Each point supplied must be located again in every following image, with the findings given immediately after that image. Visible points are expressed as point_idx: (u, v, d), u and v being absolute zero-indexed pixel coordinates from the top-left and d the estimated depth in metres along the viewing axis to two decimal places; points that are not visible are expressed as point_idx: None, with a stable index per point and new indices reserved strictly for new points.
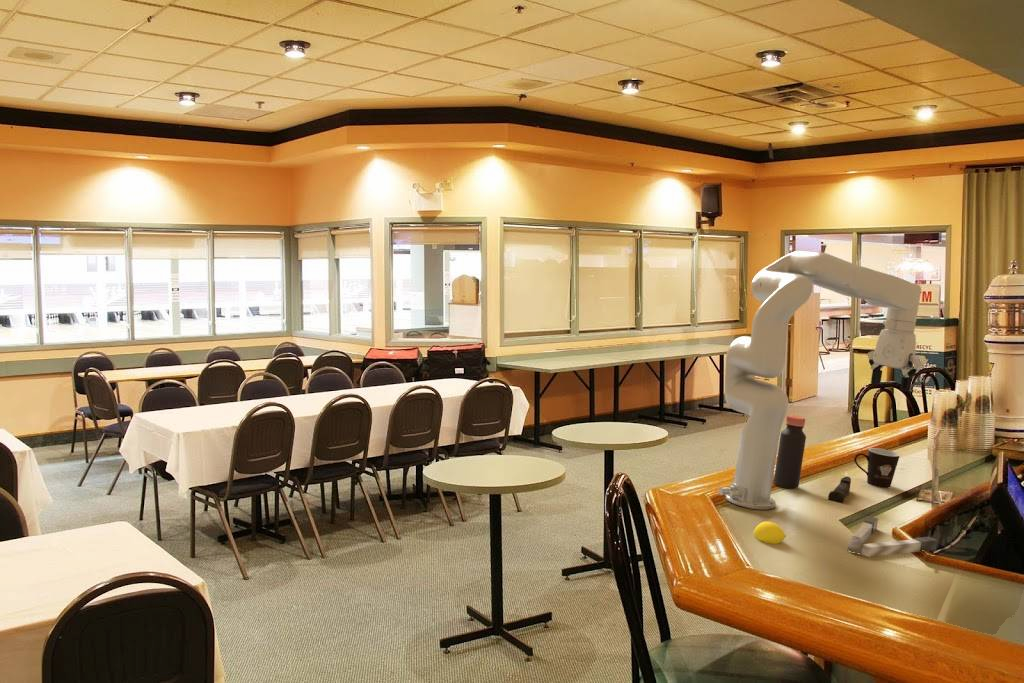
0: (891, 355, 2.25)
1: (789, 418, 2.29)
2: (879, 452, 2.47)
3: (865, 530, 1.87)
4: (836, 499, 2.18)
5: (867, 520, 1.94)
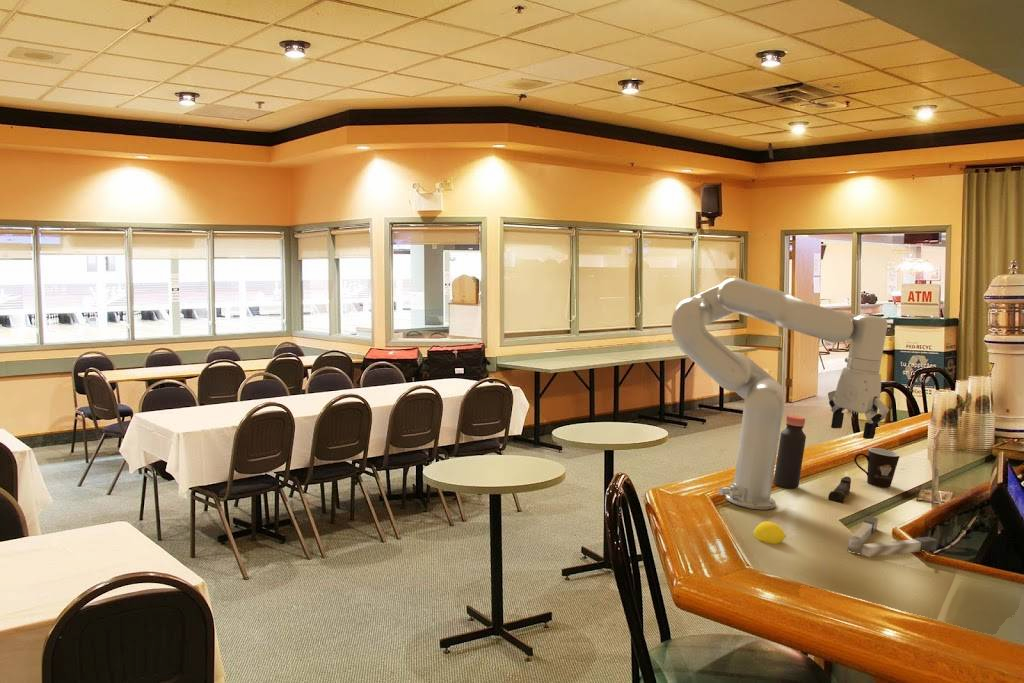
0: (853, 398, 1.99)
1: (789, 418, 2.29)
2: (879, 452, 2.47)
3: (865, 530, 1.87)
4: (836, 499, 2.18)
5: (867, 520, 1.94)
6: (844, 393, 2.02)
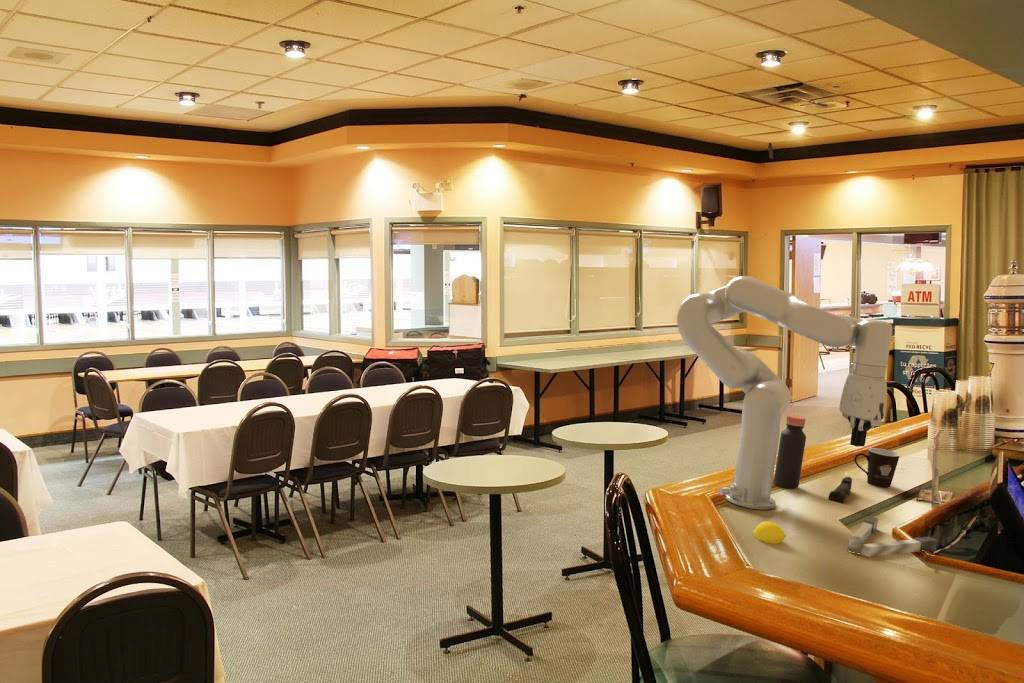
0: (859, 404, 1.95)
1: (789, 418, 2.29)
2: (879, 452, 2.47)
3: (865, 530, 1.87)
4: (836, 499, 2.18)
5: (867, 520, 1.94)
6: (849, 400, 1.98)
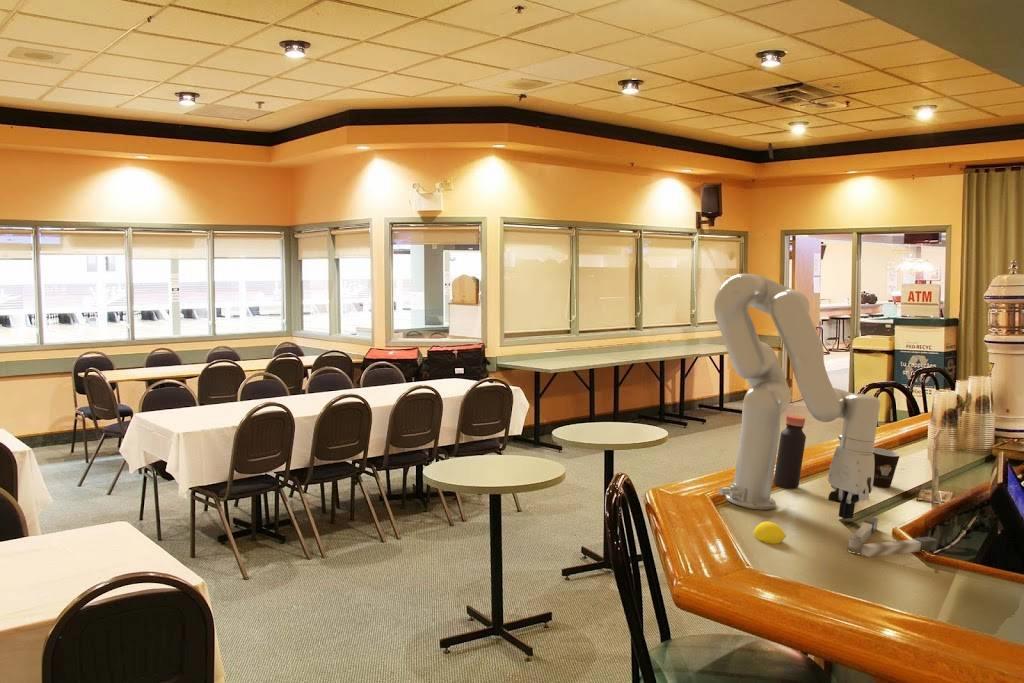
0: (847, 478, 1.98)
1: (789, 418, 2.29)
2: (879, 452, 2.47)
3: (865, 530, 1.87)
4: (836, 499, 2.18)
5: (867, 520, 1.94)
6: (838, 472, 2.00)
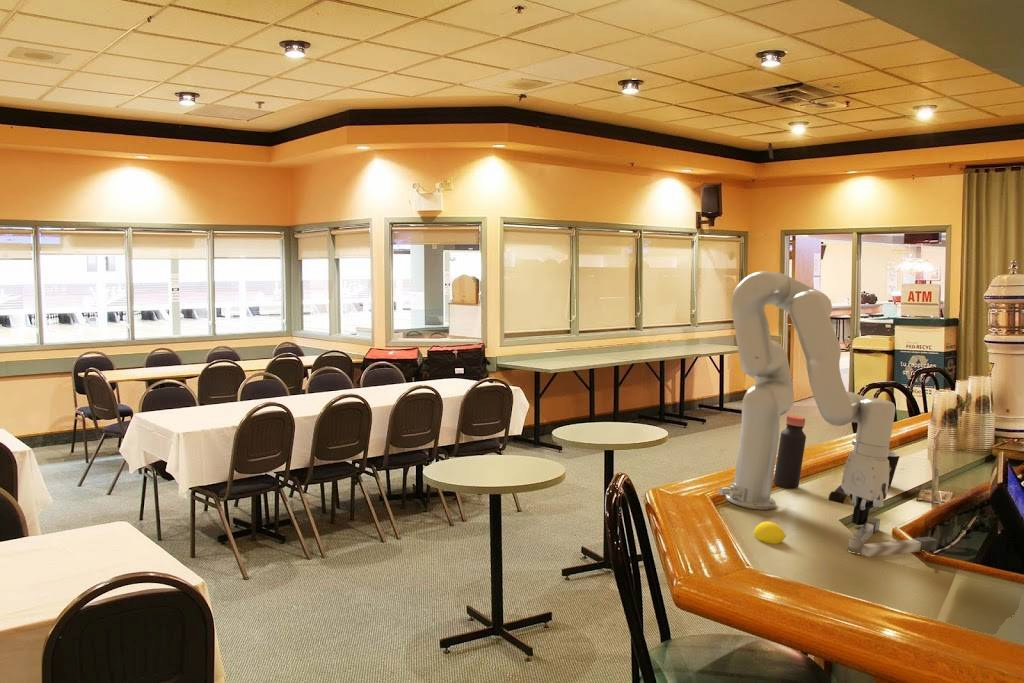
0: (861, 484, 1.94)
1: (789, 418, 2.29)
2: None
3: (866, 530, 1.87)
4: (837, 499, 2.18)
5: (869, 520, 1.94)
6: (851, 478, 1.96)
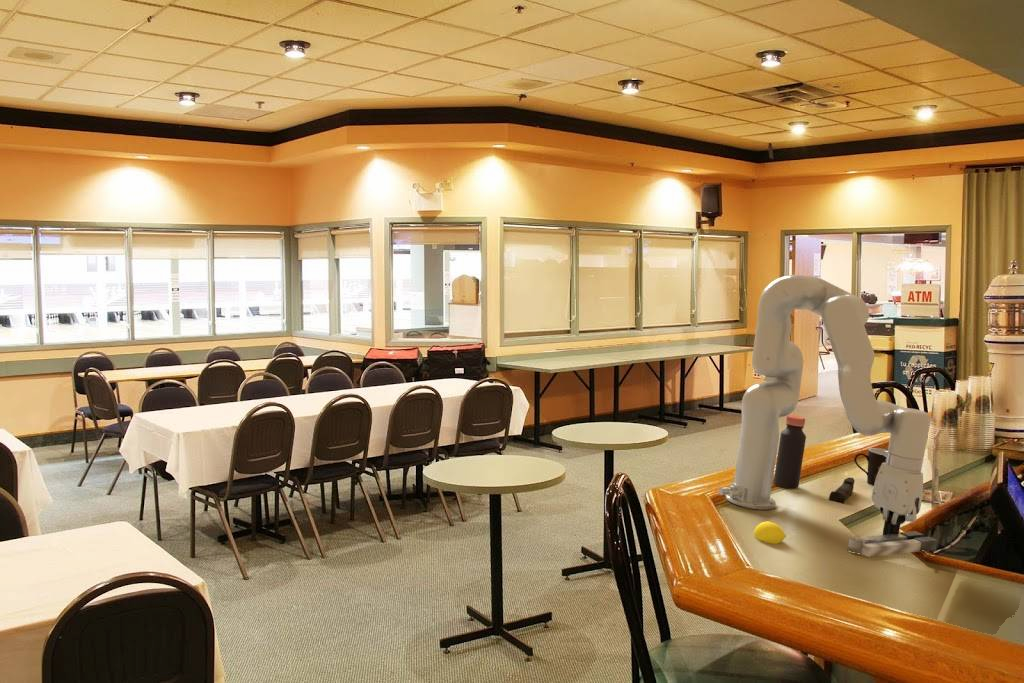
0: (893, 497, 1.86)
1: (789, 418, 2.29)
2: (879, 452, 2.47)
3: (885, 537, 1.84)
4: (837, 499, 2.18)
5: (905, 532, 1.88)
6: (883, 491, 1.88)
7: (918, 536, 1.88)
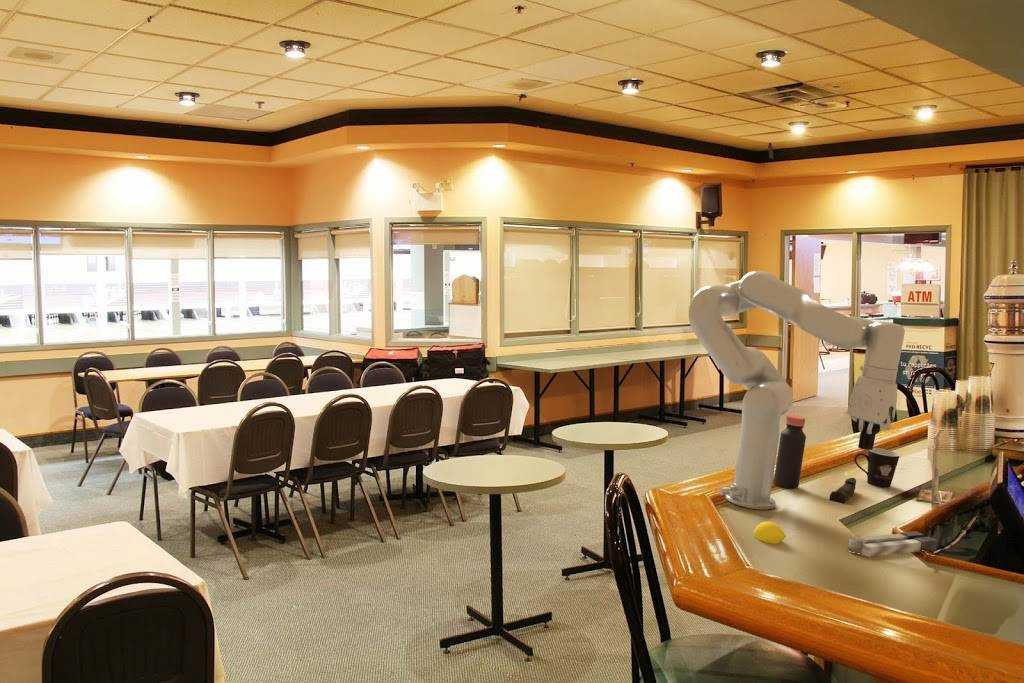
0: (868, 407, 1.93)
1: (789, 418, 2.29)
2: (879, 452, 2.47)
3: (885, 537, 1.84)
4: (837, 499, 2.18)
5: (905, 533, 1.88)
6: (858, 402, 1.95)
7: (918, 536, 1.88)
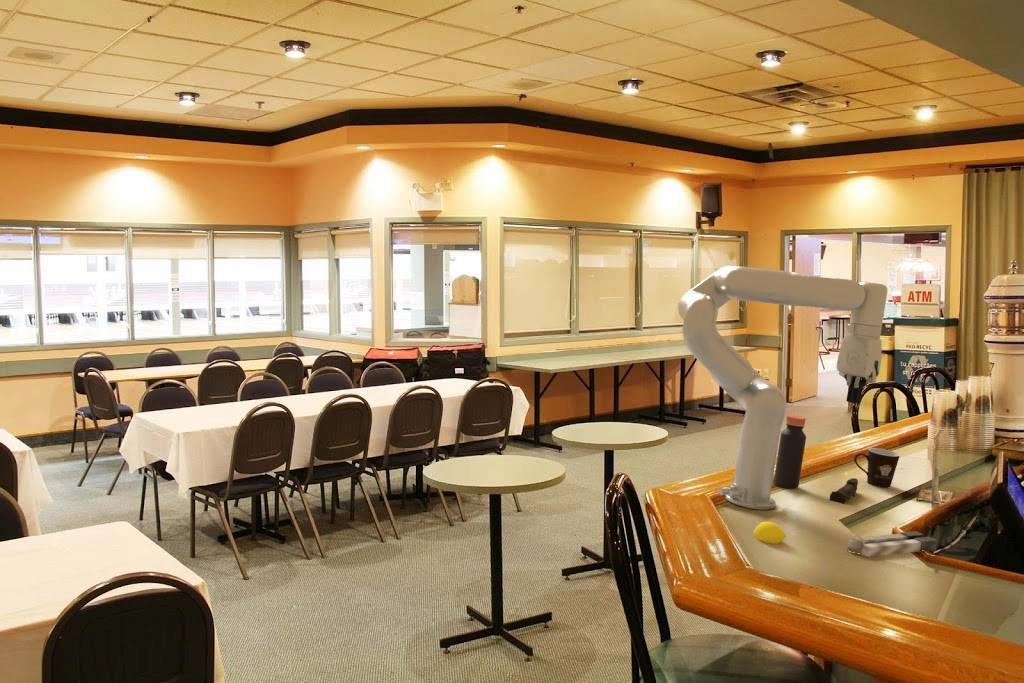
0: (855, 362, 2.05)
1: (789, 418, 2.29)
2: (879, 452, 2.47)
3: (885, 537, 1.84)
4: (837, 499, 2.18)
5: (905, 533, 1.88)
6: (846, 358, 2.08)
7: (918, 536, 1.88)
